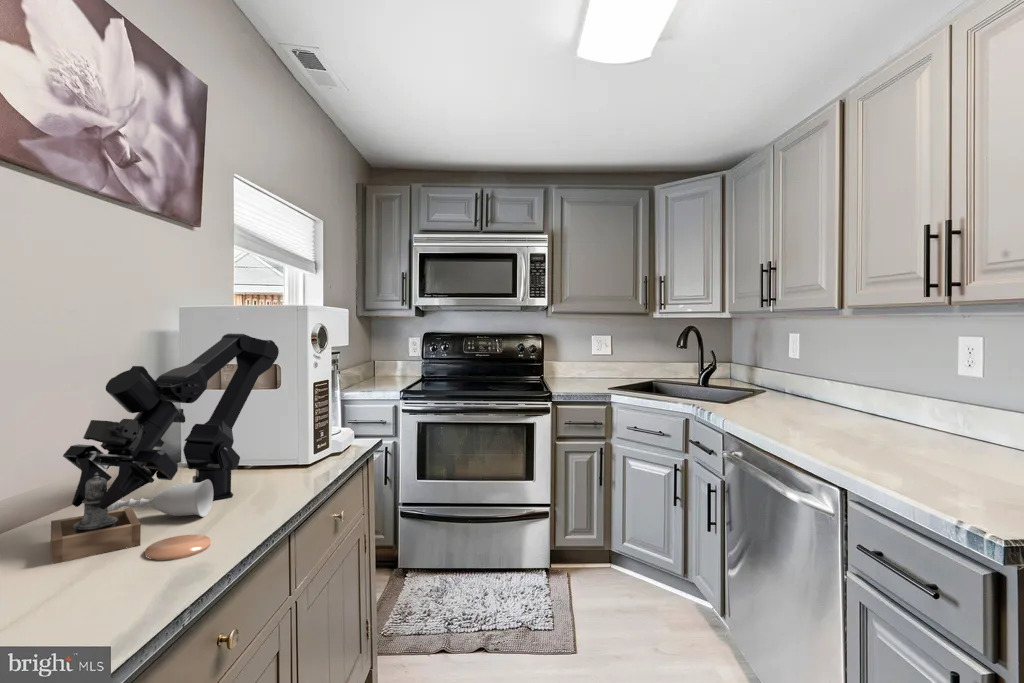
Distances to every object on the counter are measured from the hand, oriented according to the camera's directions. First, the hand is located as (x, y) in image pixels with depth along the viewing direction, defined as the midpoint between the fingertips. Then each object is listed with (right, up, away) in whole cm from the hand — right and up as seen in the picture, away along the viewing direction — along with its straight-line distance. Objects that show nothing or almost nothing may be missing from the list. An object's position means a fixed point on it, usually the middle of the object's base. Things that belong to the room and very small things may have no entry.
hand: (87, 506), depth 85 cm
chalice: (-8, -4, +13) cm, 16 cm away
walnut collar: (0, -7, +1) cm, 7 cm away
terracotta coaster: (+15, -7, 0) cm, 16 cm away
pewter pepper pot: (0, -7, +1) cm, 7 cm away
